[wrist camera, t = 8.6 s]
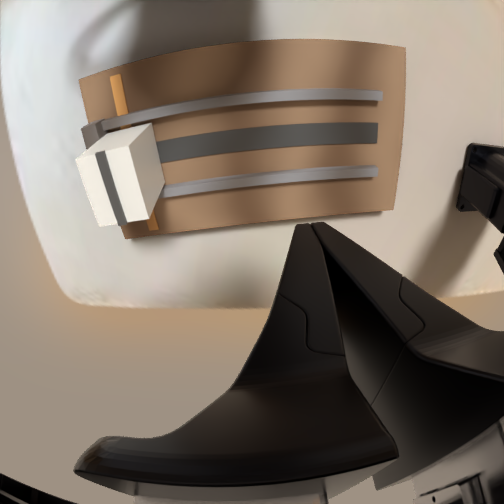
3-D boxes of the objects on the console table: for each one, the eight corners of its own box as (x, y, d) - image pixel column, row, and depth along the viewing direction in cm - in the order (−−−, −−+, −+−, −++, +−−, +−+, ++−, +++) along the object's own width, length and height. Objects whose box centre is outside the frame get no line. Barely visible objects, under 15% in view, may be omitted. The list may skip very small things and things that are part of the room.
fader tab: (151, 121, 16) (127, 145, 12) (165, 182, 18) (148, 221, 15) (106, 132, 16) (73, 159, 12) (123, 190, 18) (98, 229, 15)
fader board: (394, 46, 15) (418, 49, 12) (385, 200, 22) (401, 220, 20) (88, 76, 15) (67, 83, 12) (130, 227, 22) (119, 251, 20)
